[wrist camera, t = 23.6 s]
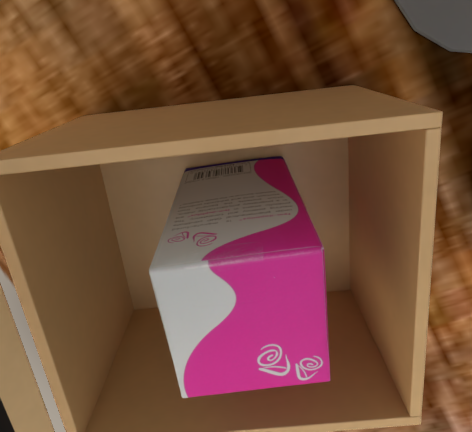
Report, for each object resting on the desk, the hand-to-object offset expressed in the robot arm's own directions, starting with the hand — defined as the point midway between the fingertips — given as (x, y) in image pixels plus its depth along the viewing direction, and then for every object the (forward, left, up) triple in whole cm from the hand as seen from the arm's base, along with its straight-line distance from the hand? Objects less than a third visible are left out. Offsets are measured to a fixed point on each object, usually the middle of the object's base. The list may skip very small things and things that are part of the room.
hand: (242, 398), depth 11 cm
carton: (0, -1, -15) cm, 15 cm away
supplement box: (0, 0, -15) cm, 15 cm away
